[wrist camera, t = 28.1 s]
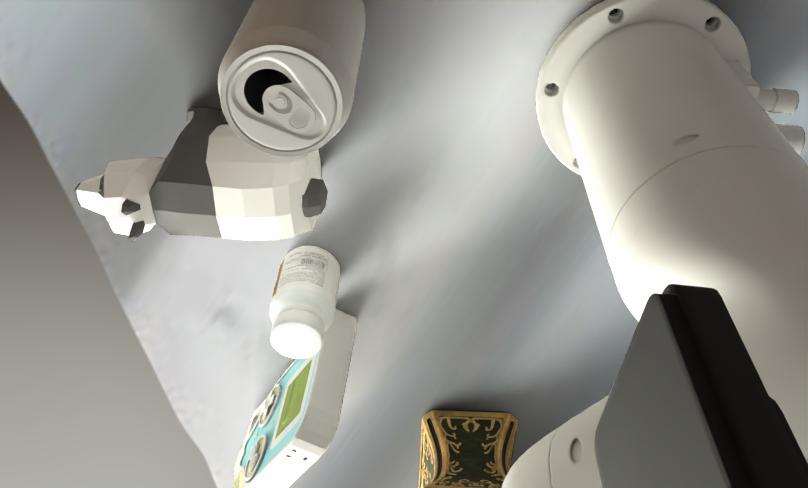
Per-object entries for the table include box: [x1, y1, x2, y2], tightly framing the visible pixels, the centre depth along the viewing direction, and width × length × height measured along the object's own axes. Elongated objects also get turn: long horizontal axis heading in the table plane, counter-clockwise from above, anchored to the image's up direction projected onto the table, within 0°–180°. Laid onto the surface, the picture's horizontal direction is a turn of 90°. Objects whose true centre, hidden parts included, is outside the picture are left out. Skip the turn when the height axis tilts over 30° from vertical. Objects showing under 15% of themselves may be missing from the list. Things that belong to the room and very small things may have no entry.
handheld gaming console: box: [233, 308, 358, 488], centre depth 59 cm, size 11×3×15 cm
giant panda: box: [75, 108, 328, 242], centre depth 46 cm, size 15×6×10 cm, turn 91°
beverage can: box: [218, 0, 366, 157], centre depth 40 cm, size 6×6×12 cm
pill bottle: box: [270, 246, 340, 359], centre depth 53 cm, size 4×4×8 cm
